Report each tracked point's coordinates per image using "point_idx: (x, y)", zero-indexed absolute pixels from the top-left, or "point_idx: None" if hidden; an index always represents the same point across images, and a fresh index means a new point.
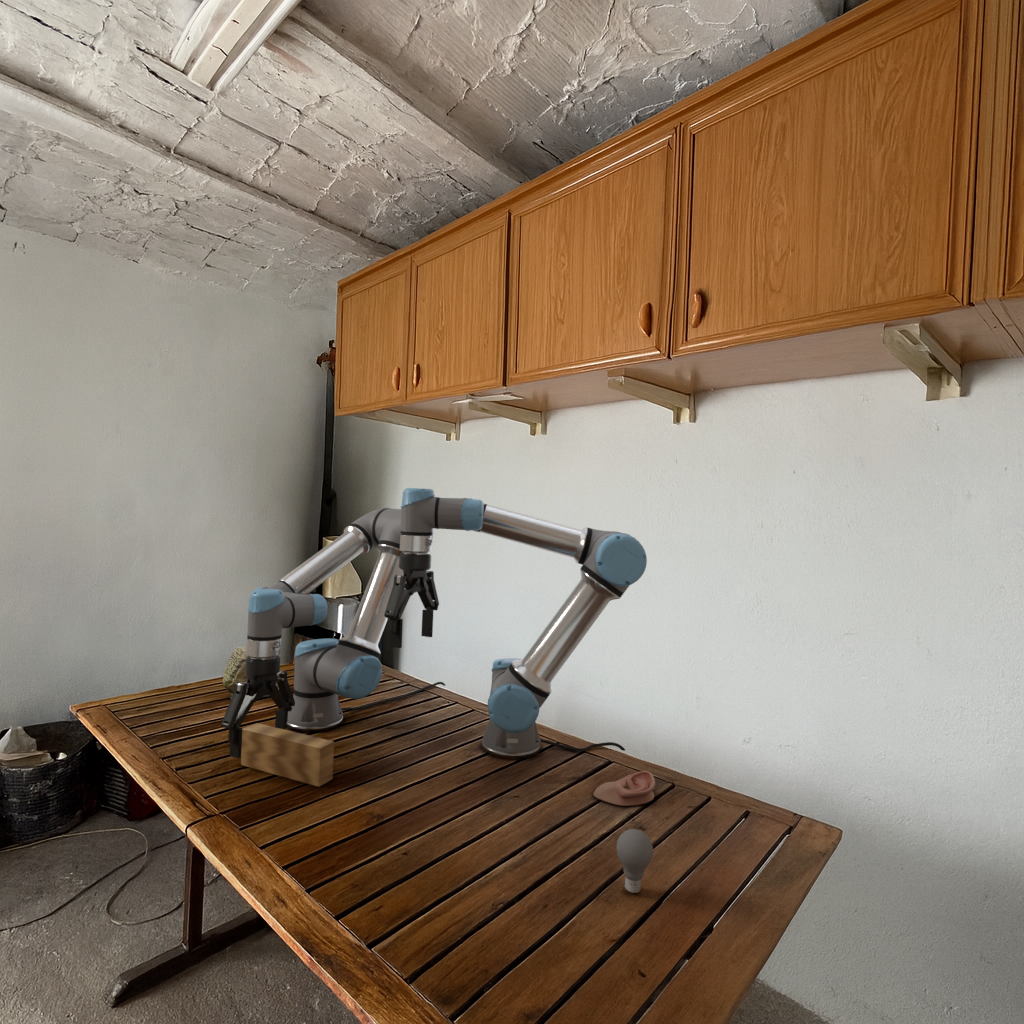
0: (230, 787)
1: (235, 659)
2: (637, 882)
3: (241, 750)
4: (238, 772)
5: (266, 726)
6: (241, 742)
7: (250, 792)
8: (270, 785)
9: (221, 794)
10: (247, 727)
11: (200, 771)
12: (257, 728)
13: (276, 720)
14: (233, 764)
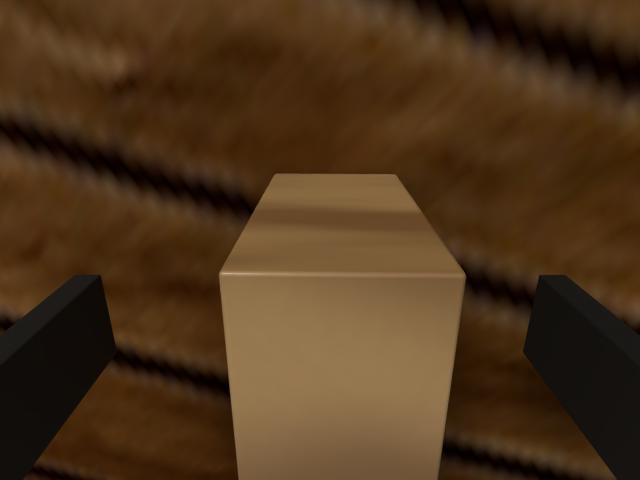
0: None
1: None
2: None
3: (262, 197)
4: (201, 235)
5: (413, 429)
6: (51, 436)
7: (102, 422)
8: (196, 443)
9: None
10: (284, 292)
11: (66, 20)
12: (319, 398)
13: (638, 379)
14: (259, 123)
